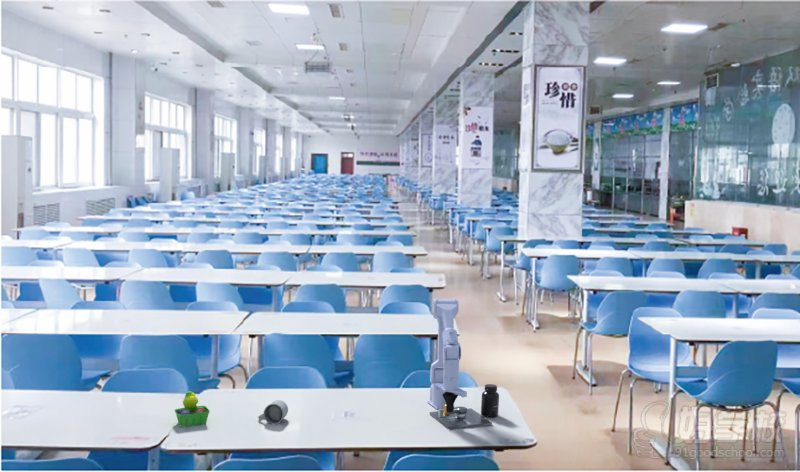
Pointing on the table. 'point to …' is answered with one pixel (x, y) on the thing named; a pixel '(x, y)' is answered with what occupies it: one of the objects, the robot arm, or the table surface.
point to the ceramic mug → (274, 412)
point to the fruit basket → (191, 411)
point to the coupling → (454, 410)
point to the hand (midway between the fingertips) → (449, 411)
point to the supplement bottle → (490, 401)
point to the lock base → (461, 419)
